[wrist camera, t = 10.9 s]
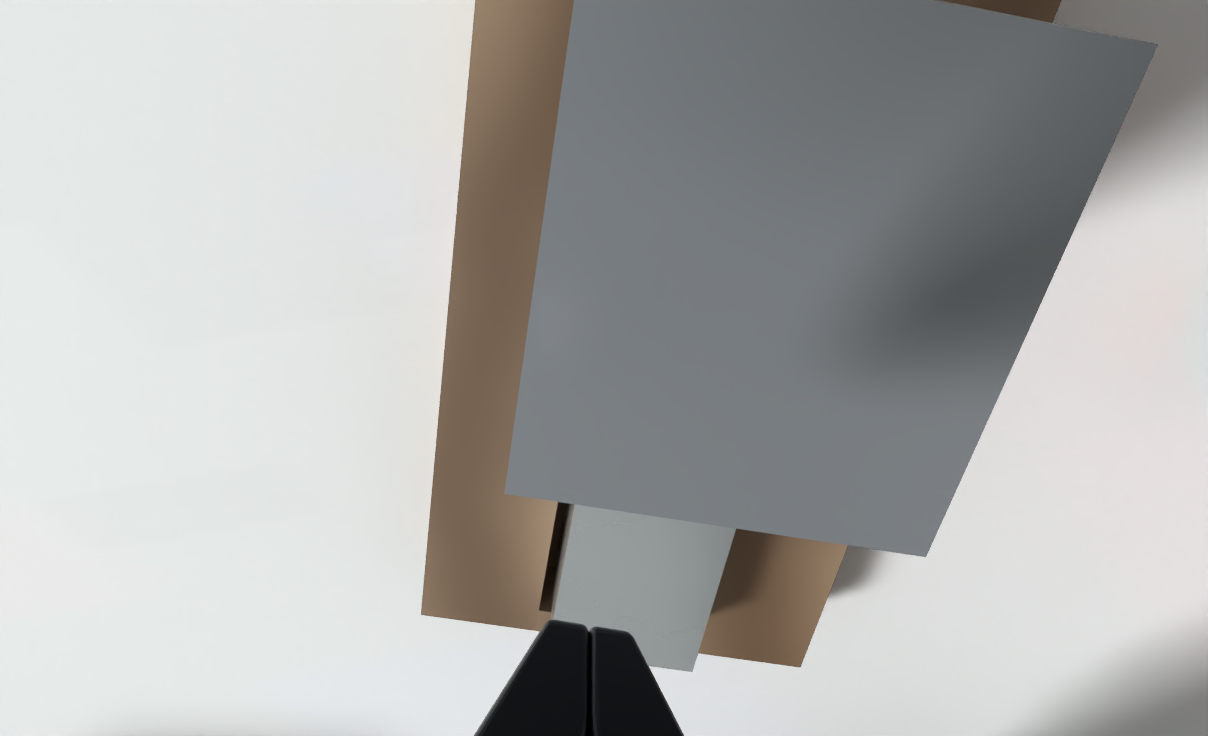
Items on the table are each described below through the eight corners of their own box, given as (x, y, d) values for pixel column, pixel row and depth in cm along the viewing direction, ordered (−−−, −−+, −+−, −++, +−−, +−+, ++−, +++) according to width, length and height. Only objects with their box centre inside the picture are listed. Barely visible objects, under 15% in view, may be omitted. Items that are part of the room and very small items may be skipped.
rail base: (1026, -46, 16) (1078, -43, 14) (786, 612, 24) (800, 667, 22) (505, -147, 15) (489, -159, 13) (436, 562, 23) (420, 614, 21)
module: (954, 2, 14) (1158, 44, 9) (823, 389, 17) (911, 588, 12) (597, -66, 14) (584, -68, 8) (537, 343, 17) (499, 527, 12)
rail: (848, -20, 16) (901, -9, 13) (683, 576, 23) (692, 671, 20) (669, -54, 16) (680, -51, 13) (556, 558, 22) (547, 651, 20)
